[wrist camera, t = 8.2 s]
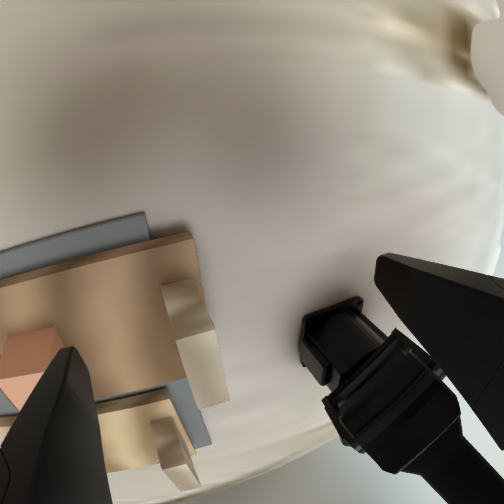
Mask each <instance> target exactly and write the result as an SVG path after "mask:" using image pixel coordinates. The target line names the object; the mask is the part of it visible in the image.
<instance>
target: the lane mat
mask: <svg viewBox="0 0 504 504" xmlns="http://www.w3.org/2000/svg"><path fill="white" fill-rule="evenodd" d="M149 240H150V238H149V233H148V228H147V224H146V219H145V214H144V213H140V214H136V215H132V216H128V217H124V218H119V219H115V220H111V221H107V222H103V223H100V224H96V225H92V226H88V227H84V228H80V229H77V230H73V231H69V232H66V233H62V234H59V235H55V236H51V237H48V238H45V239H41V240H38V241H34V242H31V243H28V244H24V245H21V246H18V247H15V248H11V249H8V250H5V251H2V252H0V280H2V279H5V278H9V277H12V276H16V275H19V274H23V273H26V272H30V271H33V270H37V269H40V268H44V267H48V266H51V265H55V264H59V263H63V262H66V261H70V260H74V259H78V258H81V257H85V256H89V255H93V254H97V253H101V252H105V251H109V250H113V249H117V248H121V247H125V246H129V245H133V244H137V243H141V242H145V241H149ZM165 388H167V390H168V392H169V395H170V397H171V399H172V401H173V404H174V406H175V408H176V410H177V412H178V415H179V417H180V419H181V421H182V423H183V425H184V427H185V429H186V431H187V434H188V436H189V438H190V440H191V442H192V444H193V446H194V448H195V449H197V448H200V447H204V446H207V445H211V444H212V442H211V440H210V437H209V435H208V432H207V430H206V427H205V424H204V422H203V419H202V416H201V413H200V411H199V410H198V407H197V404H196V401H195V399H194V396H193V393H192V390H191V387H190V384H189V381H188V378H184V379H180V380H176V381H172V382H169V383H165V384H161V385H157V386H153V387H149V388H145V389H140V390H136V391H132V392H127V393H123V394H118V395H114V396H109V397H104V398H99V399H94V400H95V404H98V403H103V402H108V401H113V400H118V399H123V398H127V397H132V396H136V395H140V394H145V393H149V392H153V391H157V390H161V389H165ZM19 412H20V411H17V410H16V409H15V408H14V406H13V405H12V404H11V403H10V402H9V400H8V399H7V398H6V397H5V395H4V394H3V393H2V392H1V390H0V417H9V416H17V415H18V414H19Z"/></svg>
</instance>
